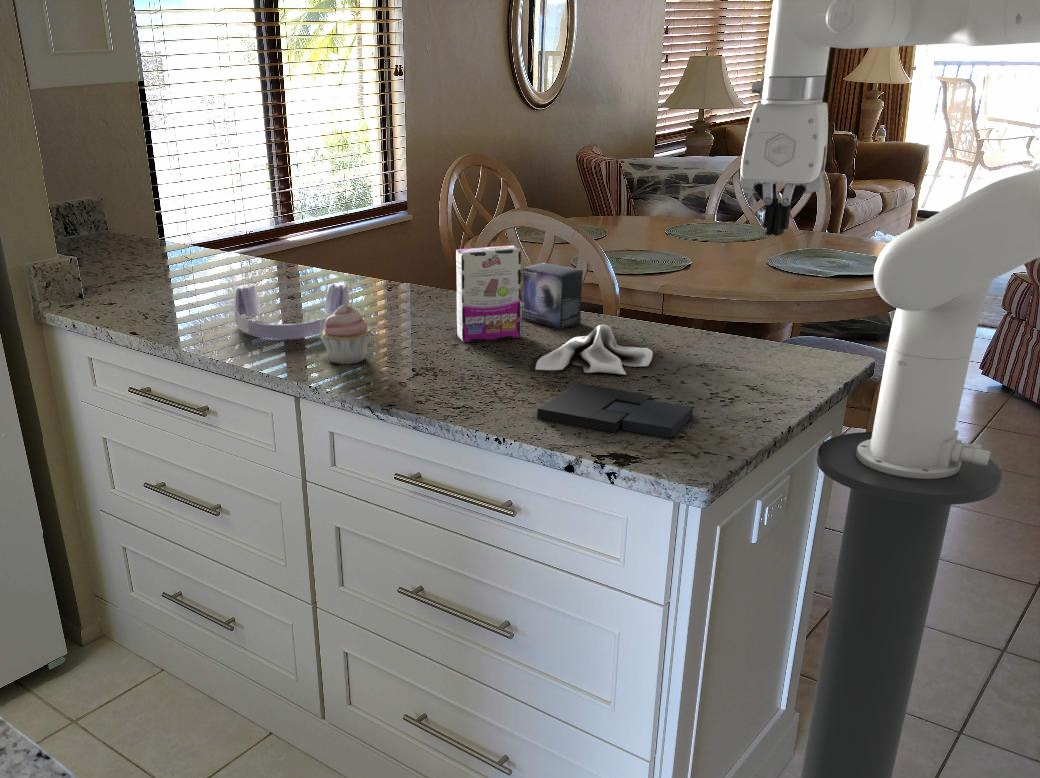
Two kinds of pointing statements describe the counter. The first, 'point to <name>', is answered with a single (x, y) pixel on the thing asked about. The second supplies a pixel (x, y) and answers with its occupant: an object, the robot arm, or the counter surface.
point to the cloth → (595, 354)
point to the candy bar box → (488, 293)
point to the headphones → (250, 306)
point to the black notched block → (590, 407)
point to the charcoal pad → (653, 417)
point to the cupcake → (346, 336)
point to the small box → (551, 295)
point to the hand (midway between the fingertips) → (774, 233)
